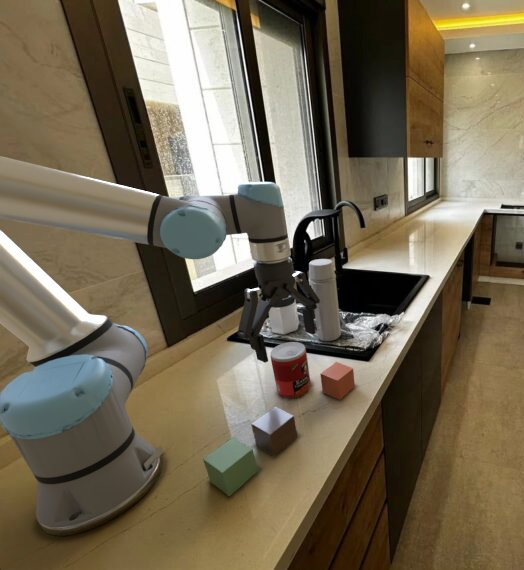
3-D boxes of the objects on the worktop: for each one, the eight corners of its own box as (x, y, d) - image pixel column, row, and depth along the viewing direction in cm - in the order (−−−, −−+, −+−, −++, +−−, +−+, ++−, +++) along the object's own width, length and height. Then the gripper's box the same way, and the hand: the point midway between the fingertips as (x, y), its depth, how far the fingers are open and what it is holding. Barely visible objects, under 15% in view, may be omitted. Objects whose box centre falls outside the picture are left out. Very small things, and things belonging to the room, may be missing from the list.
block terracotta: (322, 392, 80) (320, 373, 78) (338, 379, 84) (336, 361, 82) (339, 399, 77) (337, 380, 75) (354, 386, 82) (353, 368, 80)
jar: (297, 333, 106) (292, 299, 102) (270, 336, 104) (263, 301, 100) (300, 320, 114) (295, 289, 110) (275, 323, 112) (270, 291, 108)
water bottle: (325, 329, 109) (317, 257, 99) (346, 333, 106) (339, 259, 97) (308, 343, 100) (297, 266, 91) (330, 347, 98) (321, 269, 89)
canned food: (300, 400, 77) (294, 361, 73) (270, 396, 78) (262, 357, 74) (316, 380, 84) (311, 343, 80) (288, 376, 85) (282, 340, 81)
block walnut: (256, 445, 65) (251, 423, 63) (279, 426, 69) (275, 406, 67) (274, 456, 62) (270, 434, 60) (297, 436, 67) (294, 415, 65)
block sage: (210, 482, 57) (202, 459, 55) (239, 458, 62) (233, 436, 60) (229, 496, 55) (222, 473, 53) (258, 471, 60) (252, 448, 57)
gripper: (225, 280, 57) (250, 380, 65) (328, 247, 77) (337, 326, 85) (201, 273, 60) (227, 369, 68) (305, 243, 81) (316, 320, 88)
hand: (288, 345), depth 77 cm, fingers open, 13 cm apart
